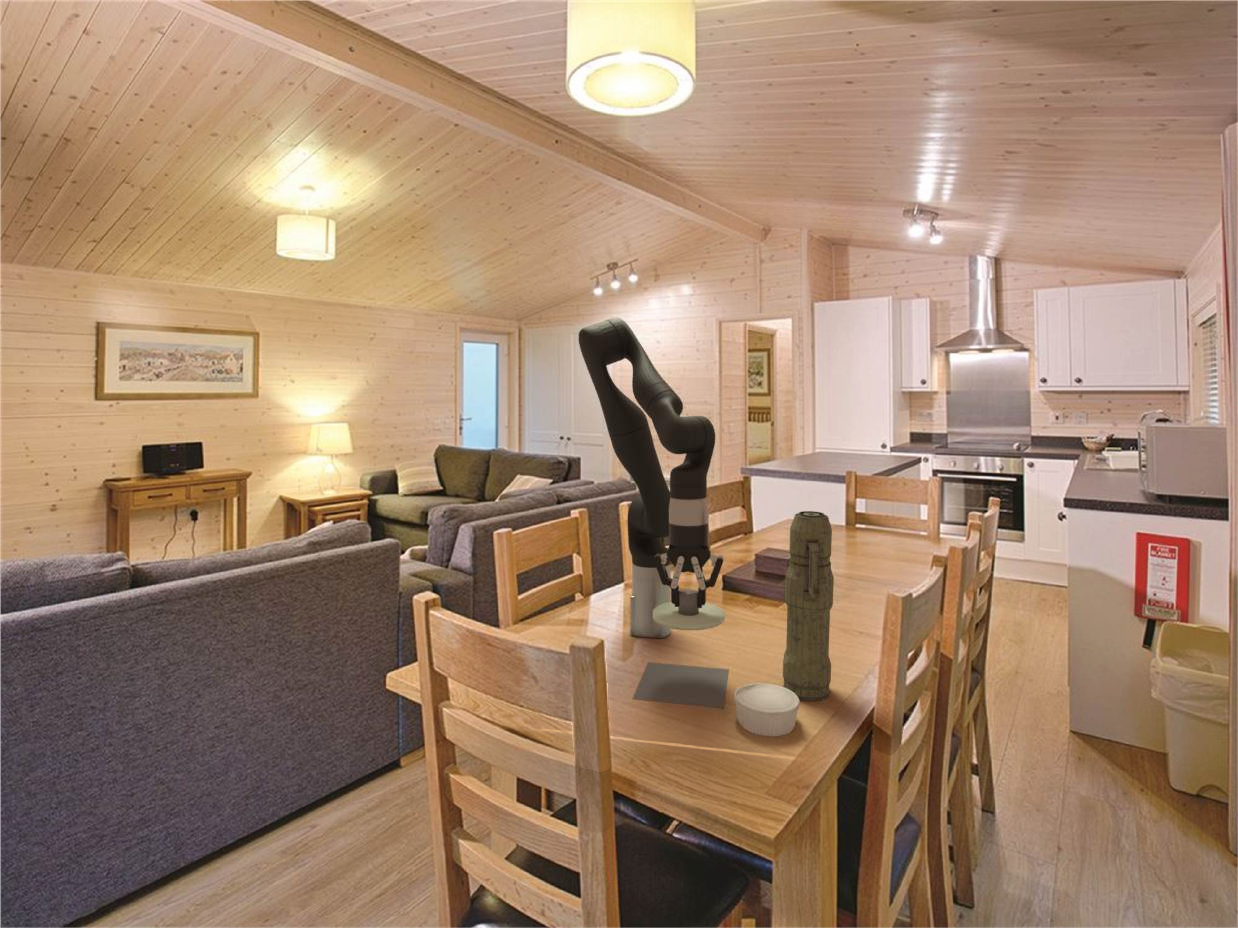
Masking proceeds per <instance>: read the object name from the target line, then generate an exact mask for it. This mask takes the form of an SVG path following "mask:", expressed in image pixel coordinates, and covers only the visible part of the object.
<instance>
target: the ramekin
mask: <svg viewBox="0 0 1238 928" xmlns="http://www.w3.org/2000/svg"><path fill="white" fill-rule="evenodd" d="M733 699H734V703H735V707H736V708H735V709H736V714H737V715H736V716H737V720H738V724H739V725H740V726H741V727H742V728H743V729H744V730H745V731H747V732H750V733H752V734H754V735H758V736H762V737H781V736H785V735H788V734H789V733H790V732H792V731H793V730H794V729H795V725H796V720H797V716H798V710H799V709H800V700H799V698H798V696H797V695H796V694H795V693H794V692H792V691H791V690H789V689H787V688H784V687H783V686H780V685H777V684H773V683H760V682H759V683H757V682H756V683H749V684H745V685H742V686H740V687H738V688H737V689H736V690H735V691H734V694H733Z"/></svg>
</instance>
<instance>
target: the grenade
mask: <svg viewBox="0 0 1238 928" xmlns="http://www.w3.org/2000/svg"><path fill="white" fill-rule="evenodd" d="M832 535H833V528H832V525H831V522H830V518H829V516H828V515H827V514H825V513H824V512H820V511H813V510H812V511H811V510H810V511H809V510H805V511H804V510H802V511H799V512H797V513H795V514H794V516H793V519H792V522H791V524H790V528H789V554H790V558H789V561H788V562H789V563H788V567H787V571H786V573H785V583H784V584H785V586H784V587H785V589H784V590H785V591H784V592H785V593H784V594H785V595H784V601H785V603H786V606H787V610H786V617H787V618H786V646H785V648H786V649H785V651H784V653H783V659H782V677H783V686H782V687H784V688H787V689H789V690H791V691H792V692H794V693H795V694H796V695H797V696H798V698H799V701H806V702H819V701H820V700H821V701H823V699H824V700H826V699H828V698H829V696H830V691H831V690H830V684H831V681H832V680H831V679H832V663H831V660H830V655H829V652H830V623H831V619H830V618H831V610H832V608H833V605H834V581H835V579H834V574H833V571H832V562H831V556H832V542H833V541H832V540H833V539H832V538H833V537H832Z"/></svg>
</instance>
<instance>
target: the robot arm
mask: <svg viewBox="0 0 1238 928" xmlns="http://www.w3.org/2000/svg"><path fill="white" fill-rule="evenodd" d="M578 345H579V348H580V353H581V355H582V358H583V361H584V363H585V365H586V368H587V371H588V374H589V376H590V379H591V381H592V385H593V387H594V390H595V392H596V394H597V398H598V401H599V404H600V407H601V410H602V414H603V417H604V421H605V424H606V428H607V432H608V437H609V439H610V443H611V446H612V448H613V451H614V453H615V455H616V457H617V459H618V461H619V462H620V463H621V465H622V466H623V468H624V470H625V471H626V472H627V473H628V475H629V476H630V477H631V478H632V480H633V482H634V483H635V484H636V487H637V489H638V491H639V494H640V495H637V496H636V497H635V498H634V499H633V500H632V501H631V503H630V504H629V507H628V511H627V537H628V538H627V539H628V541H627V542H628V551H629V553H630V555H631V562H632V564H631V569H632V570H631V572H632V573H631V575H632V576H631V585H632V586H631V587H632V589H631V590H632V591H631V592H632V593H631V594H630V597H629V599H630V600H629V602H630V604H629V607H630V608H629V609H630V610H629V611H630V612H629V615H630V616H629V618H630V620H629V621H630V623H629V627H630V628H629V630H630V631H629V633H630V635H631V636H636V637H638V638H642V639H651V640H652V639H654V640H655V639H656V640H657V639H663V638H665V637H669V635H670V634H671V628H668V627H664V626H662V625H660V624H658V623H656V622H655V621H654V619H653V610H654V609H655V608H656V607H657V606H659V605H661V604H664V603H668V602H672V604H675V607H678V592H679V591H680V585H679V581H680V578H681V575H682V573H687V572H689V573H693V574H695V579H696V581H697V584H698V589H697V591H698V608H702V605H705V603H707V589H709V588H714V587H715V585H716V583H717V580H718V577H719V574H720V573H721V569H722V566H723V563H724V556H723V555H722V554H719V555H716V554H714V553H711V549H710V548H709V517H710V516H709V508H708V507H709V505H708V497H707V496H708V492H707V490H708V489H707V488H708V487H707V486H708V484H707V482H708V481H707V479H708V478H707V477H708V472H709V469H710V467H711V462H712V457H713V455H714V449H715V446H716V430H715V428H714V424H712V421H711V420H710V419H709V418H707V417H706V416H702V415H693V416H692V415H690V416H681V415H682V413H683V410H684V404H683V401H682V399H681V398H680V396H679V395H678V394H677V393H676V391H675V390H674V389H673V388H672V387H671V386H670V385H669V384H668V383H667V382H666V380H664V378H663V377H662V376H661V374H660V373H659V372H658V370H657V369H656V367H655V366H654V364H653V363H652V361H651V359H650V357H649V355H648V353H647V352H646V350H645V349H644V347H643V346H642V343H640V341H639V340H638V338H637V336H636V334H635V333H634V330H633V329H632V328H631V327H630V326H629V325H628V323H627V322H626V321H625V320H624V319H622V318H620V317H613V318H609V319H606V320H603V321H599V322H597V323H594V324H591V325H588V326H585V327H583V328H581V329H580V330H579V332H578ZM625 359H626V360H627V361H629V362H630V364H631V366H632V378H631V379H632V381H631V382H632V383H631V386H632V394H633V397H634V399H635V401H636V402H637V403H638V405H637V404H636V403H635V402H634V400H633V401H632V400H631V399H630V398H629V397H628V396H627V395H626V394H624V392H622V391H621V389H619V387H617V385H616V384H615V383H614V381H613V379H612V377H611V375H610V373H609V369H608V367H607V366H610V365H612V364H614V363H617V362H620V361H623V360H625ZM646 415H647V416H648V417H649V419H651V421H652V425H653V427H654V429H655V431H656V435H657V437H658V440H659V442H660V444H661V445H662V447H663V448H664V449H665V450H666V451H668V452H669V453H671V454H674V455H685V457H684V460H683V462H682V463H681V464H678V466H674V467H673V468H672V469H671V471H670V475H669V486H668V484H667V482H666V479H665V476H664V473H663V469H662V467H661V464H660V461H659V456H658V454H657V451H656V447H655V444H654V443H655V442H654V439H653V434H652V432H651V428H650V424H649V421H648V419H647V418H648V417H647V416H646ZM661 538H663V539H665V538H668V548H667V547H666V546H665V544H663V542H662V540H661ZM708 560H710V561H711V566H712V567H713V568H712V571H711V574H710V576H709V578H708V579H706V577H705V572H704V566H705V565H706V563H708ZM671 564H672V566H673V567H674V571H673V575H672V572H671V571H672V568H671V567H672V566H671ZM671 575H672V576H671Z"/></svg>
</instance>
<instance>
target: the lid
mask: <svg viewBox="0 0 1238 928" xmlns="http://www.w3.org/2000/svg"><path fill="white" fill-rule="evenodd" d="M725 615H726V614H725V610H724V609H723V608H721V607H720V606H719V605H716V604H713V603H710V602H706V603H705V605H702V608H698V590H696V589H690V588H687V589H679V592H678V607H675V604H672V602H671V601H670V602H668V603H664V604H661V605H659V606H657V607H656V608H655V609H654V610H653V619H654V621H655V622H656V623H658V624H660V625H662V626H664V627H668V628H670V629H671V630H672V629H673V630H680V631H703V630H709V629H713V628H717V627H719V626H720V625H722V624H723V623H724V622H725V619H726V616H725Z"/></svg>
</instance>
